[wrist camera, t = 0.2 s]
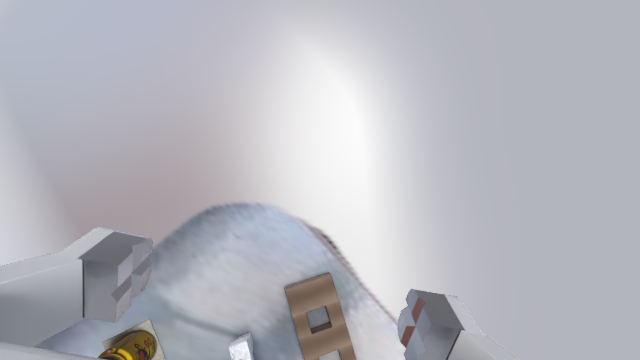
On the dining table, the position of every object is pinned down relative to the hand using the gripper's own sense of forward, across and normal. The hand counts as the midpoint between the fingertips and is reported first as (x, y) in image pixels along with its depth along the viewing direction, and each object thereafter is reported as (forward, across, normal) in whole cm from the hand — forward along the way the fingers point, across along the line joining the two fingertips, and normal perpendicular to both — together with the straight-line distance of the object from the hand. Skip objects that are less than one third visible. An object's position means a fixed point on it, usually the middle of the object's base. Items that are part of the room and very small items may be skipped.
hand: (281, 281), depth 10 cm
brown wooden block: (+40, +11, -40) cm, 57 cm away
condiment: (+36, -22, -47) cm, 63 cm away
